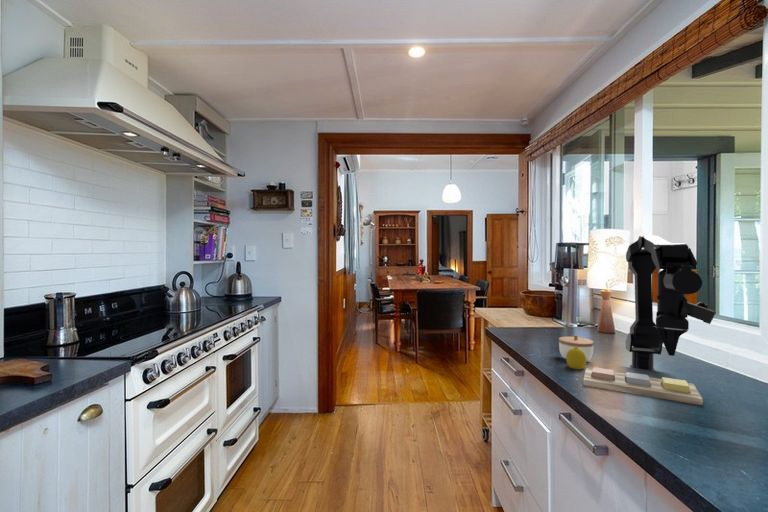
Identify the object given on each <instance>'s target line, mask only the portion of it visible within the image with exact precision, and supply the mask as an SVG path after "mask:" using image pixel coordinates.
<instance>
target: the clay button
mask: <svg viewBox="0 0 768 512" xmlns="http://www.w3.org/2000/svg"><path fill="white" fill-rule="evenodd" d="M592 369H593V371H592V377H593V378H599V379H605V380H612V381H614V372H615V371H614V369H609V368H601V367H595V366H593V367H592Z"/></svg>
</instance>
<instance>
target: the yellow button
mask: <svg viewBox="0 0 768 512" xmlns="http://www.w3.org/2000/svg"><path fill="white" fill-rule="evenodd" d="M661 379H662V388H663V389H668V390H674V391H681V392H687V393H689V385H688V382H687V380H684V379H677V378H670V377H663V376H662V377H661Z"/></svg>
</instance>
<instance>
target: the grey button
mask: <svg viewBox="0 0 768 512" xmlns="http://www.w3.org/2000/svg"><path fill="white" fill-rule="evenodd" d="M625 374H626V382H625V383H631V384H637V385H643V386H649V387H650V379H649V377H650V376H649V375H648V374H643V373H637V372H629V371H626V372H625Z"/></svg>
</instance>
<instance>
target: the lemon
mask: <svg viewBox="0 0 768 512" xmlns="http://www.w3.org/2000/svg"><path fill="white" fill-rule="evenodd" d="M565 360H566V364H567V366H568V368H570V369H572V370H573V369H574V370H583V369H585V367H586V365H587V361H586V356H585V354H584V352H583V351H582V350H581V349H579V348H578V347H575V348H572V349H570V350H569V351H568V353H567V357H566V359H565Z"/></svg>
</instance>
